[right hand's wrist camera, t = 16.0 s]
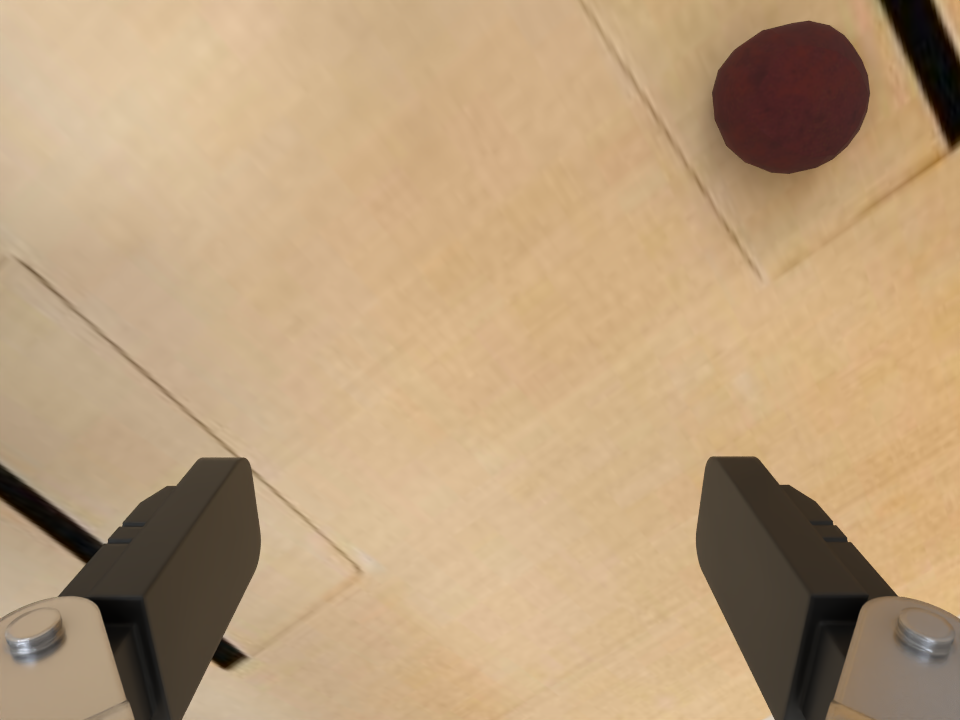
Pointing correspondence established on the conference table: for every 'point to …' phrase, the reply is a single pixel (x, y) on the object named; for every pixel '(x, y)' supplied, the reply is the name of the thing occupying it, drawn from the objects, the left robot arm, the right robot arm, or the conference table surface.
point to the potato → (791, 97)
